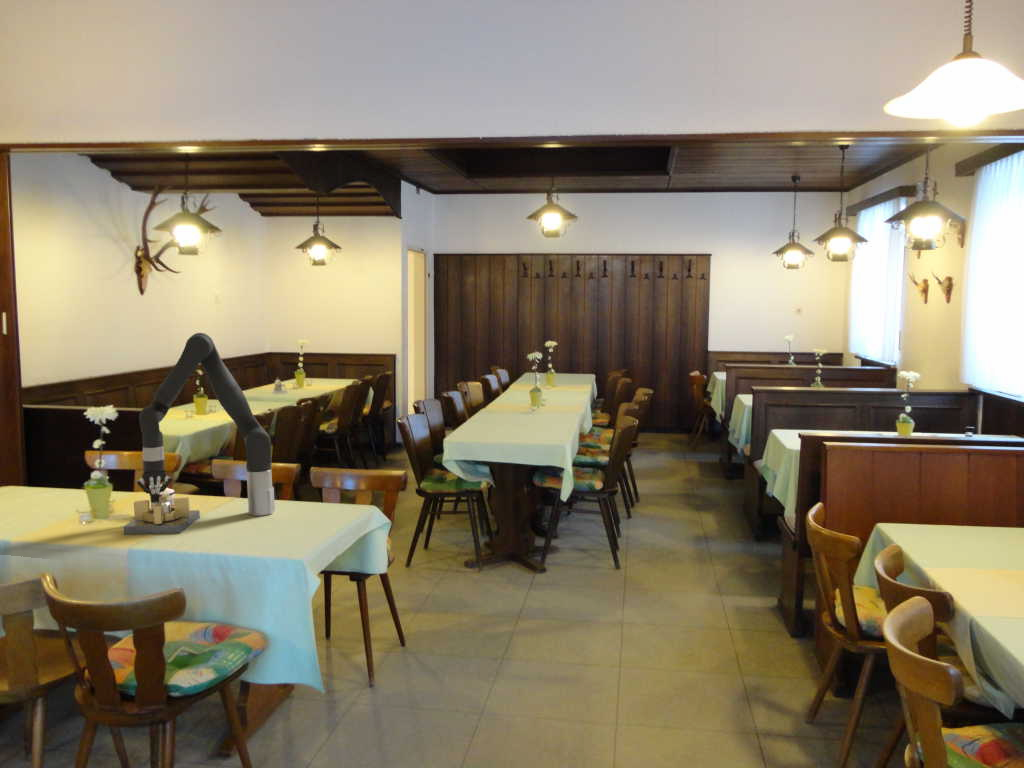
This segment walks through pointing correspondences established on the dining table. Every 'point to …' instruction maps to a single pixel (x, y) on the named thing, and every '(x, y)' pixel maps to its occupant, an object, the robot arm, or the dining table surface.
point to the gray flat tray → (166, 526)
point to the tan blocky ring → (161, 510)
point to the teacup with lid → (166, 491)
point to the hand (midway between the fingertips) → (155, 503)
